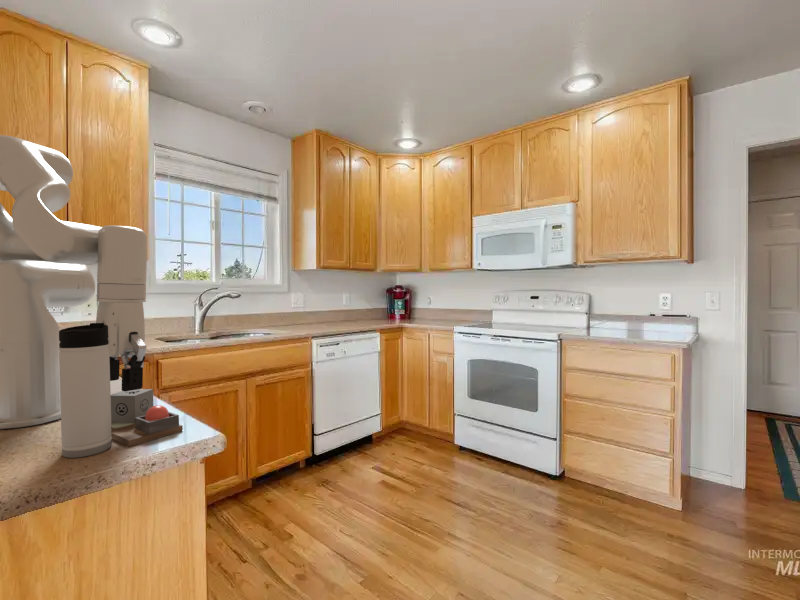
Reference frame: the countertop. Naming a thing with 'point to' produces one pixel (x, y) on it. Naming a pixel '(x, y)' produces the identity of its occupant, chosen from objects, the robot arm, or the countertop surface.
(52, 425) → the countertop surface
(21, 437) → the countertop surface
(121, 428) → the button base
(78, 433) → the travel mug
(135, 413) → the grey sad face cube
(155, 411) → the dome
